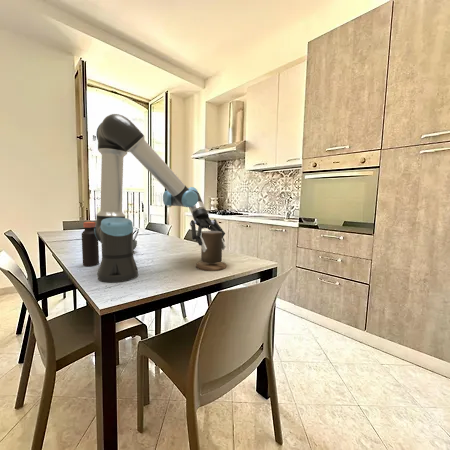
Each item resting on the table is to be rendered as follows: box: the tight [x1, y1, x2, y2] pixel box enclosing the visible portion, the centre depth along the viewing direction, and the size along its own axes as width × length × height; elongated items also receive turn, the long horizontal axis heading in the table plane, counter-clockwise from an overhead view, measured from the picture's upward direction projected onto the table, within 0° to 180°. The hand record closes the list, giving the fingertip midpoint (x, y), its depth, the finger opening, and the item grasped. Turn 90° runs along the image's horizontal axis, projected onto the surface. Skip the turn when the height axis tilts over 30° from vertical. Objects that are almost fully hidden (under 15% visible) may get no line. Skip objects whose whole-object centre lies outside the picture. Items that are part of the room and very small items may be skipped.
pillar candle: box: [200, 230, 223, 263], centre depth 120 cm, size 10×10×15 cm
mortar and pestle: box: [133, 239, 138, 254], centre depth 147 cm, size 11×9×12 cm
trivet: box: [195, 261, 227, 272], centre depth 121 cm, size 14×14×1 cm
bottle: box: [81, 221, 100, 267], centre depth 120 cm, size 7×7×20 cm
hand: (215, 249), depth 118 cm, fingers closed on pillar candle, 10 cm apart
